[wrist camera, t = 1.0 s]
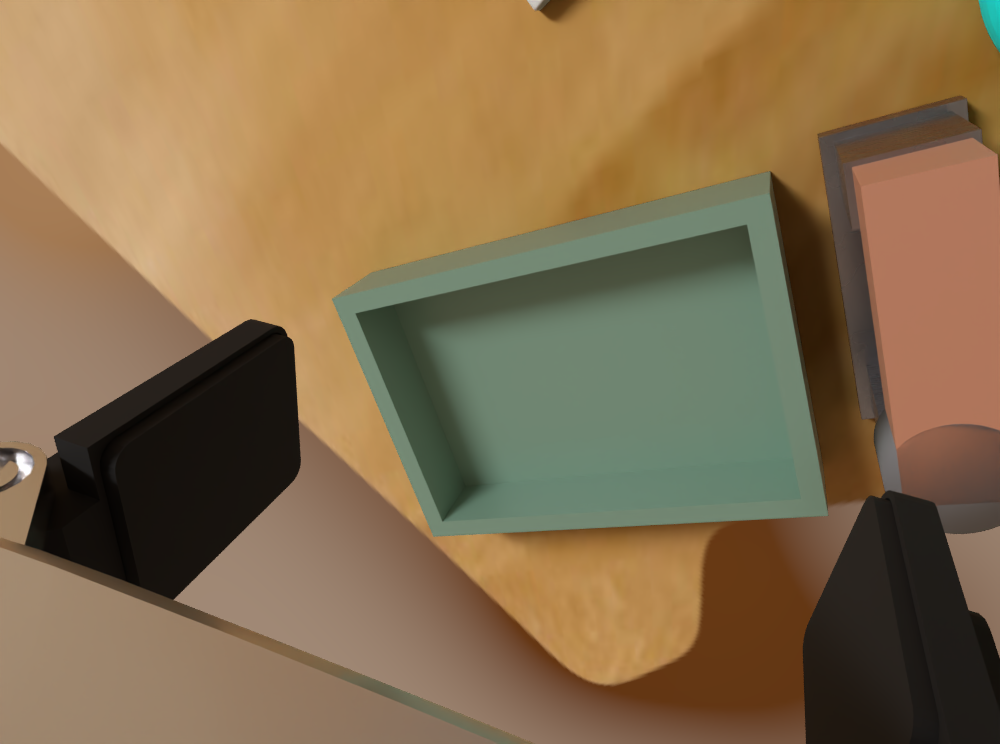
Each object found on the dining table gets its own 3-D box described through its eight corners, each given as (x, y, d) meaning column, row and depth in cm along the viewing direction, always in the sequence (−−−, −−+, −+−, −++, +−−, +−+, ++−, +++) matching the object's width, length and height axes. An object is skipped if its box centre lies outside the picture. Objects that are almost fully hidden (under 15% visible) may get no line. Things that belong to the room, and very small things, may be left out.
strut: (834, 171, 24) (840, 191, 22) (993, 132, 22) (1020, 149, 20) (881, 489, 29) (891, 536, 26) (1016, 481, 27) (1041, 530, 24)
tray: (770, 171, 30) (769, 192, 26) (823, 465, 35) (828, 515, 32) (370, 272, 39) (332, 298, 35) (460, 495, 44) (433, 536, 41)
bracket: (817, 134, 29) (825, 159, 24) (960, 95, 26) (999, 114, 22) (859, 408, 33) (873, 474, 28) (984, 394, 31) (1021, 463, 26)
